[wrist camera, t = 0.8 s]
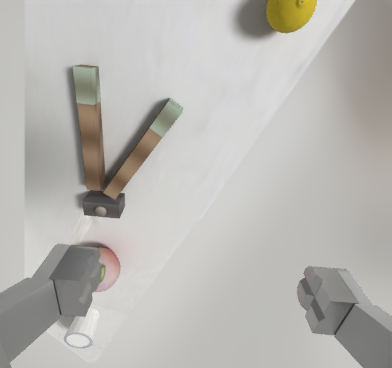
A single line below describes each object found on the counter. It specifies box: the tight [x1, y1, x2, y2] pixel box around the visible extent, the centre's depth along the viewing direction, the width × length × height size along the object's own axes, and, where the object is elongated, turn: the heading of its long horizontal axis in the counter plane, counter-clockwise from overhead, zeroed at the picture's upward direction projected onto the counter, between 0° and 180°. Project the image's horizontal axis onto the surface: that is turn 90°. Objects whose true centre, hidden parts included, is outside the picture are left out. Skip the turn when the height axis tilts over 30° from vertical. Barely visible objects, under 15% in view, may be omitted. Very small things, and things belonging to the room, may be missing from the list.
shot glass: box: [64, 307, 100, 348], centre depth 63 cm, size 7×7×7 cm
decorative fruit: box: [94, 248, 120, 292], centre depth 51 cm, size 9×8×10 cm
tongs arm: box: [103, 98, 183, 200], centre depth 42 cm, size 20×2×3 cm, turn 141°
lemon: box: [266, 0, 317, 33], centre depth 31 cm, size 6×6×8 cm
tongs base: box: [73, 65, 125, 218], centre depth 41 cm, size 25×6×5 cm, turn 173°
